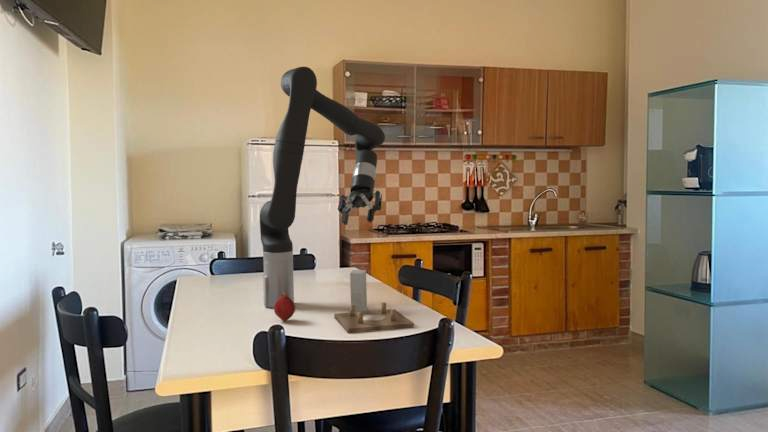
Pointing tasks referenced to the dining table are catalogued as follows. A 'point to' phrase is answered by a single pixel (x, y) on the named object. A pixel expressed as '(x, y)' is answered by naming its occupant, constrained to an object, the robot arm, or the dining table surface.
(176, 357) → the dining table surface
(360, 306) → the skincare box
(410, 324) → the standoff plate
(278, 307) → the onion
